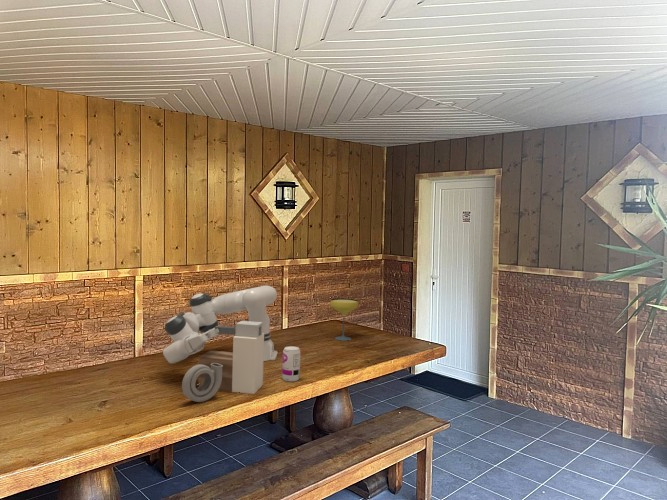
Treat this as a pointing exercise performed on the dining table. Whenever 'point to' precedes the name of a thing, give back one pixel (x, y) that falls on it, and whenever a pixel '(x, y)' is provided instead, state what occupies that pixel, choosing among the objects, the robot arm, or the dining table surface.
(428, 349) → the dining table surface
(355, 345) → the dining table surface
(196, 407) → the dining table surface
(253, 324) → the stand
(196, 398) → the turbocharger housing
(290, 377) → the supplement can
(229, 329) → the metal bar
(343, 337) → the cocktail glass
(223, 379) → the step
